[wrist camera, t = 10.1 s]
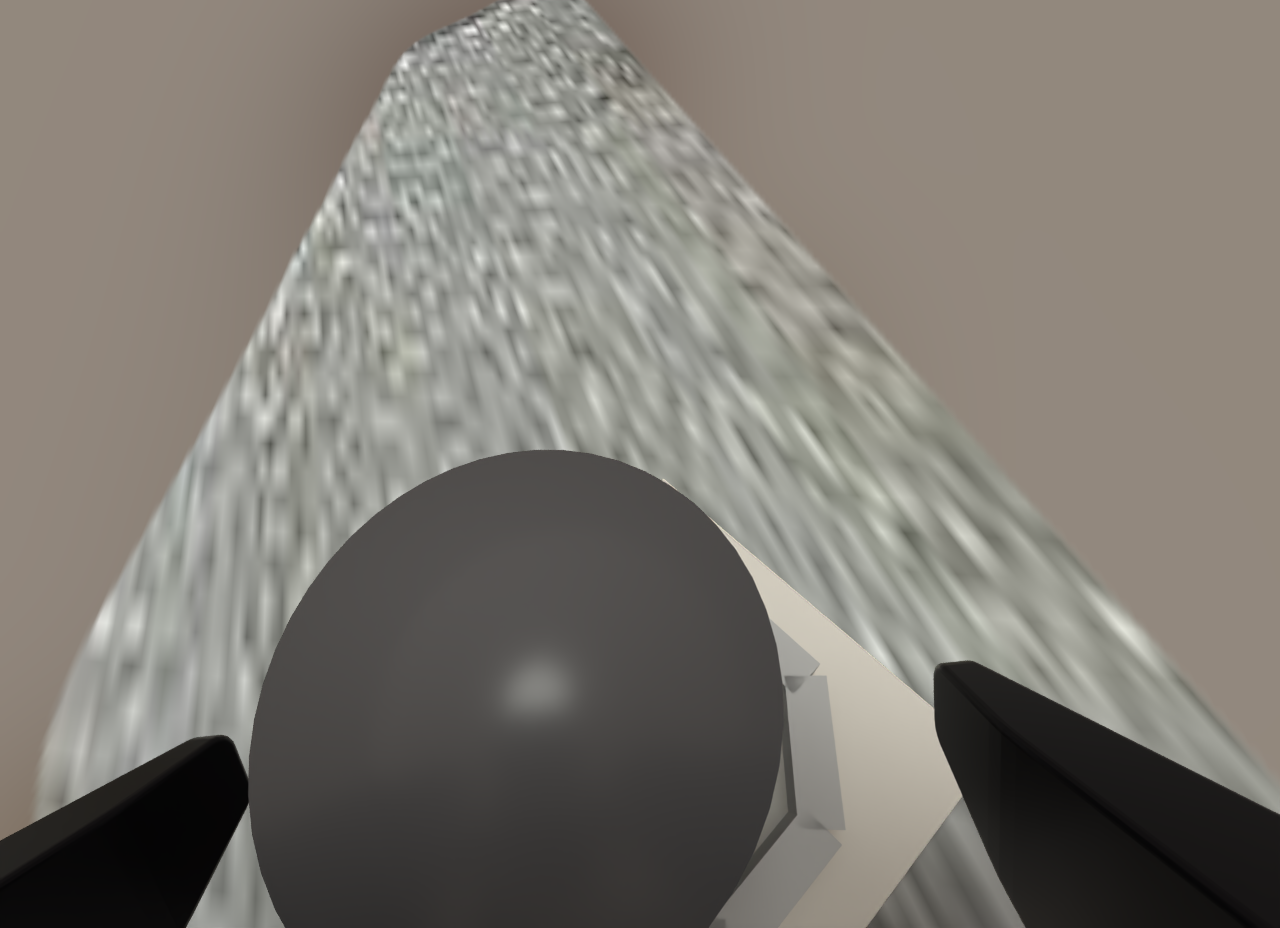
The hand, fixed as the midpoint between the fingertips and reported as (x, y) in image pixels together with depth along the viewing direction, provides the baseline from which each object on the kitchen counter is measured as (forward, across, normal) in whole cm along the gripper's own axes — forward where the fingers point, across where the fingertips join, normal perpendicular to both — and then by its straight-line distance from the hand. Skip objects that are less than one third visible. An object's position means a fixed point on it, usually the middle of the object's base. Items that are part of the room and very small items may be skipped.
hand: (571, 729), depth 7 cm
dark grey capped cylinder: (+7, 0, +7) cm, 10 cm away
